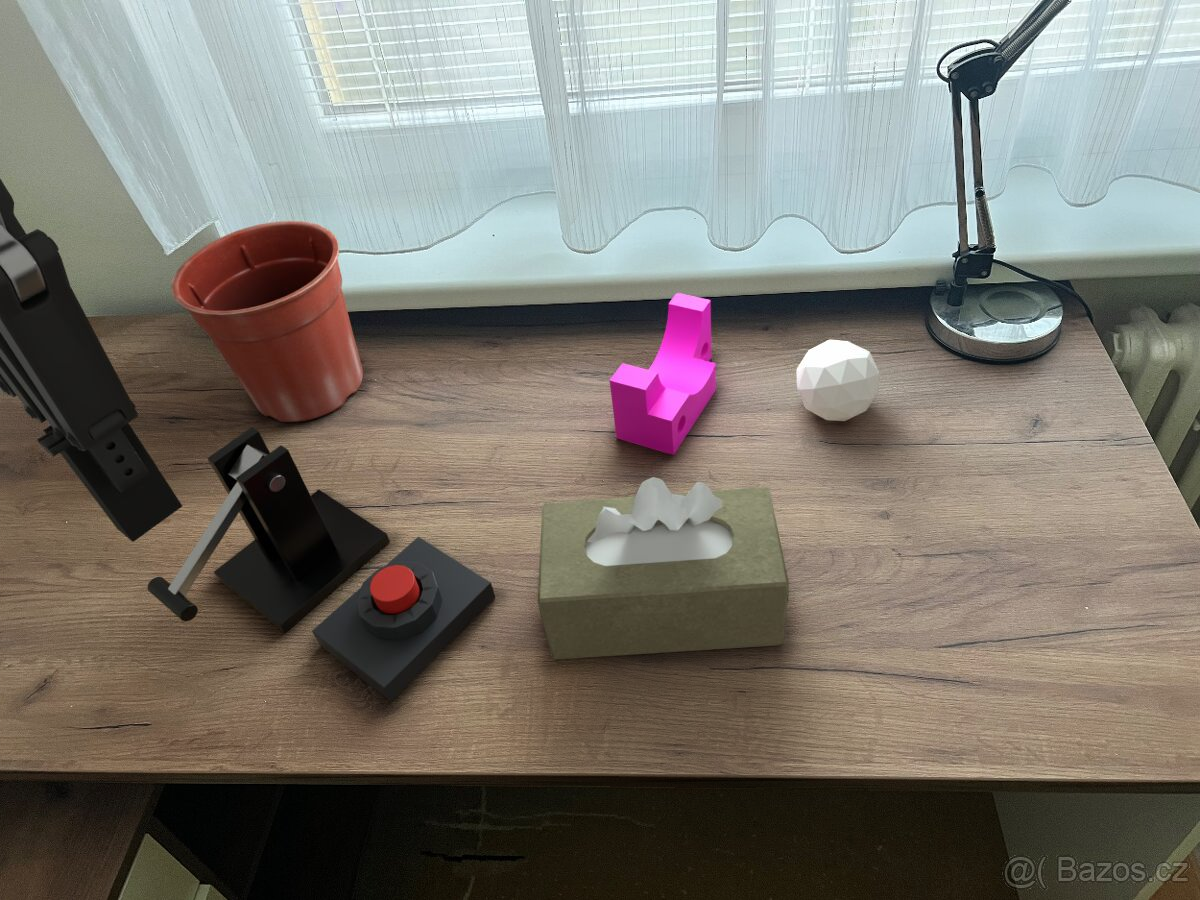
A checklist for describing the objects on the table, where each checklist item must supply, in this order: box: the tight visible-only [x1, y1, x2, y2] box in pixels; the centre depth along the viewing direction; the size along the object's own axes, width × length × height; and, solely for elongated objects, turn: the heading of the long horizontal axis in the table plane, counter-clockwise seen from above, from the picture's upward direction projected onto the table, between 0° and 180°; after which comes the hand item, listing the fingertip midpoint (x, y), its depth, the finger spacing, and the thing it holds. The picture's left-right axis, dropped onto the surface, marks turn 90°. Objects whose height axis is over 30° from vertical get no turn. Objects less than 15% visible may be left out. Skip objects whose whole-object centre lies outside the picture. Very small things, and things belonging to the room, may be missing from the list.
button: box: [370, 565, 420, 614], centre depth 70 cm, size 4×4×2 cm
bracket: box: [207, 426, 391, 634], centre depth 75 cm, size 12×10×14 cm
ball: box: [795, 339, 880, 422], centre depth 84 cm, size 8×8×8 cm
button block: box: [311, 536, 496, 702], centre depth 72 cm, size 12×9×4 cm
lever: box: [146, 445, 268, 622], centre depth 70 cm, size 14×5×2 cm, turn 139°
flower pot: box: [170, 220, 364, 423], centre depth 92 cm, size 16×16×16 cm
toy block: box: [609, 292, 717, 456], centre depth 87 cm, size 15×6×8 cm, turn 151°
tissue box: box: [537, 476, 790, 660], centre depth 67 cm, size 19×10×16 cm, turn 90°
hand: (149, 517), depth 42 cm, fingers closed
